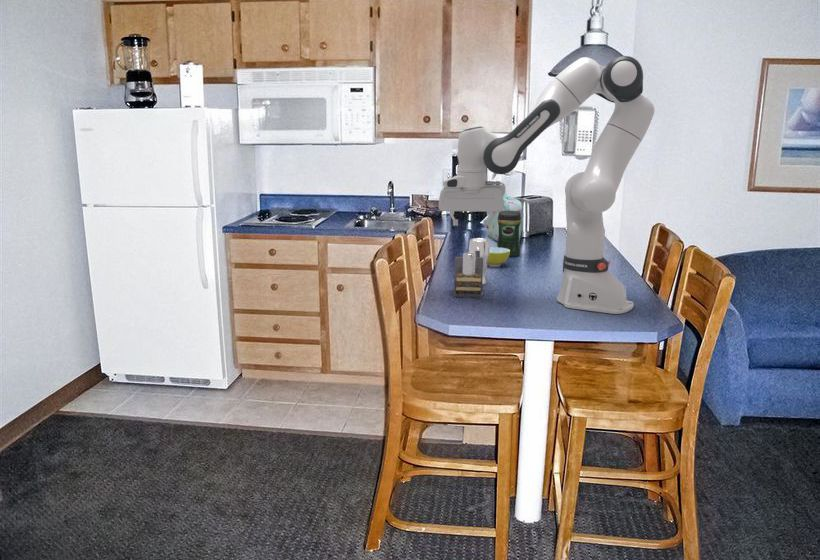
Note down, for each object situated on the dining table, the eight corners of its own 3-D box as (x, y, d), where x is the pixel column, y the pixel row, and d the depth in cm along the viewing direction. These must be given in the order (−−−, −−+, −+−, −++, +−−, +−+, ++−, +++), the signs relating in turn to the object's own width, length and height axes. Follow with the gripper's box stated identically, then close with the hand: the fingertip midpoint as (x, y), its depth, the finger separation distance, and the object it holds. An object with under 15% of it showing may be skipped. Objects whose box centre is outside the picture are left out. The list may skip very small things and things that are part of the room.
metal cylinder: (477, 290, 208) (478, 253, 205) (470, 292, 205) (471, 255, 202) (466, 288, 210) (467, 252, 207) (459, 290, 207) (460, 253, 204)
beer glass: (472, 286, 217) (473, 242, 214) (464, 281, 224) (466, 238, 220) (491, 285, 219) (493, 241, 215) (483, 280, 226) (485, 237, 222)
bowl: (475, 266, 246) (475, 250, 245) (486, 261, 256) (486, 246, 255) (503, 270, 241) (504, 253, 240) (513, 264, 251) (514, 248, 250)
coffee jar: (520, 254, 271) (522, 209, 267) (518, 257, 264) (521, 212, 259) (497, 252, 273) (499, 208, 269) (494, 256, 266) (496, 211, 262)
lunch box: (483, 235, 315) (485, 191, 310) (504, 235, 317) (506, 191, 312) (501, 245, 289) (503, 197, 284) (523, 245, 291) (525, 197, 286)
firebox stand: (482, 297, 203) (483, 263, 200) (453, 296, 204) (454, 262, 201) (481, 290, 212) (483, 257, 209) (454, 289, 212) (455, 256, 210)
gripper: (505, 180, 201) (503, 224, 205) (439, 179, 203) (438, 223, 206) (506, 182, 195) (504, 227, 199) (438, 181, 197) (438, 226, 200)
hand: (470, 225), depth 202 cm, fingers open, 8 cm apart
